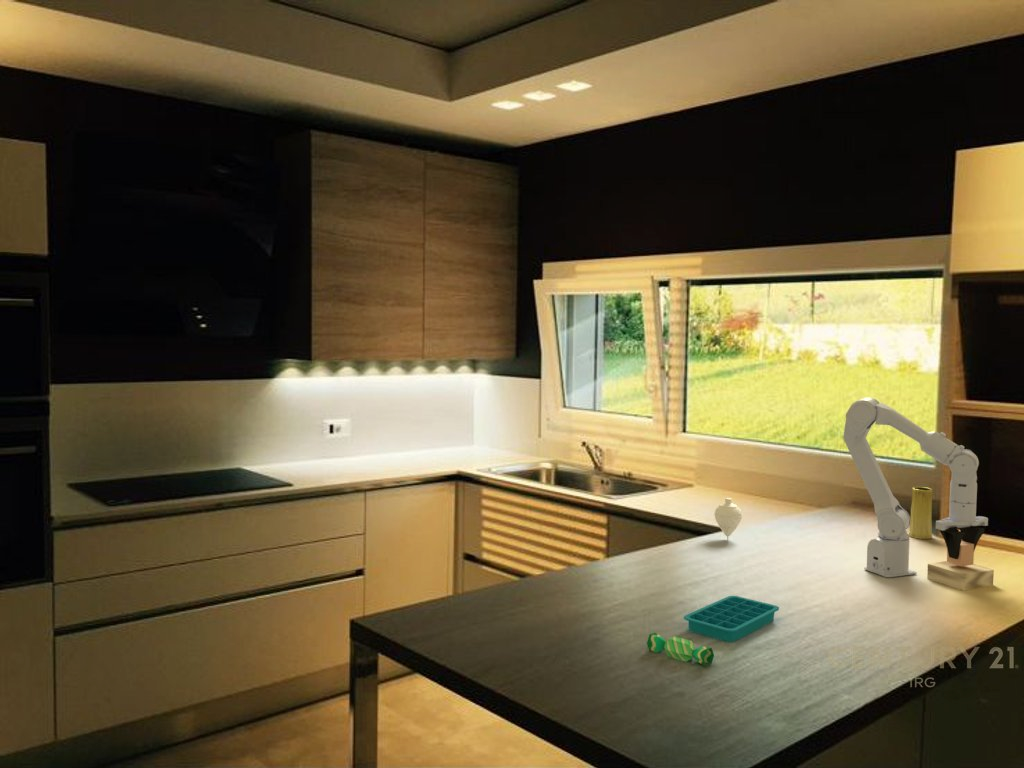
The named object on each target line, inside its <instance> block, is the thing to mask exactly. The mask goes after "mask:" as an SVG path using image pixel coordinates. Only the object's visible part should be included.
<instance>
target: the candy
mask: <svg viewBox="0 0 1024 768" xmlns="http://www.w3.org/2000/svg"><path fill="white" fill-rule="evenodd" d="M646 646H647V648H648V650H649V651H650V652H655V653H659V652H662V651H664V650H665V651H664V652H665V654H666V656H667V657H669V658H672V659H676V660H679V661H682V662H689V661H690V660H692V659H693V658H694V660H696V661H697V662H698V663H699V664H701V665H702V666H704V667H705V668H707V665H706V663H707V664H712V663H713V661H714V657H715V653H714V651H713V648H712V647H708V646H700V647H697V648H696V647H695V645H694V643H693V641H692V640H690V639H685V638H683V637H678V636H672V637H670V638H669V639H667V640H666V639H665V638H664V637H663V636H662V635H660V634H658V633H657V632H652V633H649V634H648V638H647V641H646Z"/></svg>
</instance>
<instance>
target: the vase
mask: <svg viewBox="0 0 1024 768" xmlns="http://www.w3.org/2000/svg"><path fill="white" fill-rule="evenodd" d="M911 495H912V496H911V506H910V525H909V533H908V535H909V536H910V537H911V538H912V539H913V538H914V539H919V540H930V539H931V540H932V538H933V534H932V531H933V530H932V526H933V524H932V517H933V516H932V515H933V514H932V510H933V509H932V508H933V505H932V504H933V501H932V500H933V496H932V495H933V489H932V488H930V487H925V486H913V487H912V493H911Z"/></svg>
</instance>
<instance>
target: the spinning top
mask: <svg viewBox="0 0 1024 768" xmlns="http://www.w3.org/2000/svg"><path fill="white" fill-rule="evenodd" d="M724 501H725V502H723V503H721V504H719V505H718V506H717V507H716V509H715V510H714V519H715V521H716V523H717V525H718V527H719V528H720V530H721V531H722V533H723V534H724V535H725V537H726V540H729V537H730V536H731V535H732V534H733V533H734V532H735V530H736V529H737V528H738V527H739V525H740V523H741V521H742V517H743V513H742V510H741V508H740V507H739V506H738V505H737V504H734V503H733V498H732V497H726V498H724Z"/></svg>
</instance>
